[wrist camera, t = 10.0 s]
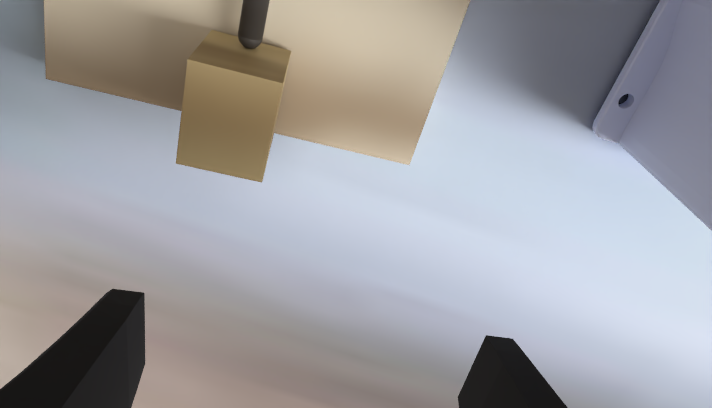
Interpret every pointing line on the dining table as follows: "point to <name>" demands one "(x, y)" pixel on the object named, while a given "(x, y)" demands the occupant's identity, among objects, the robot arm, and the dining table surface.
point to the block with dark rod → (233, 98)
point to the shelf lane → (284, 30)
